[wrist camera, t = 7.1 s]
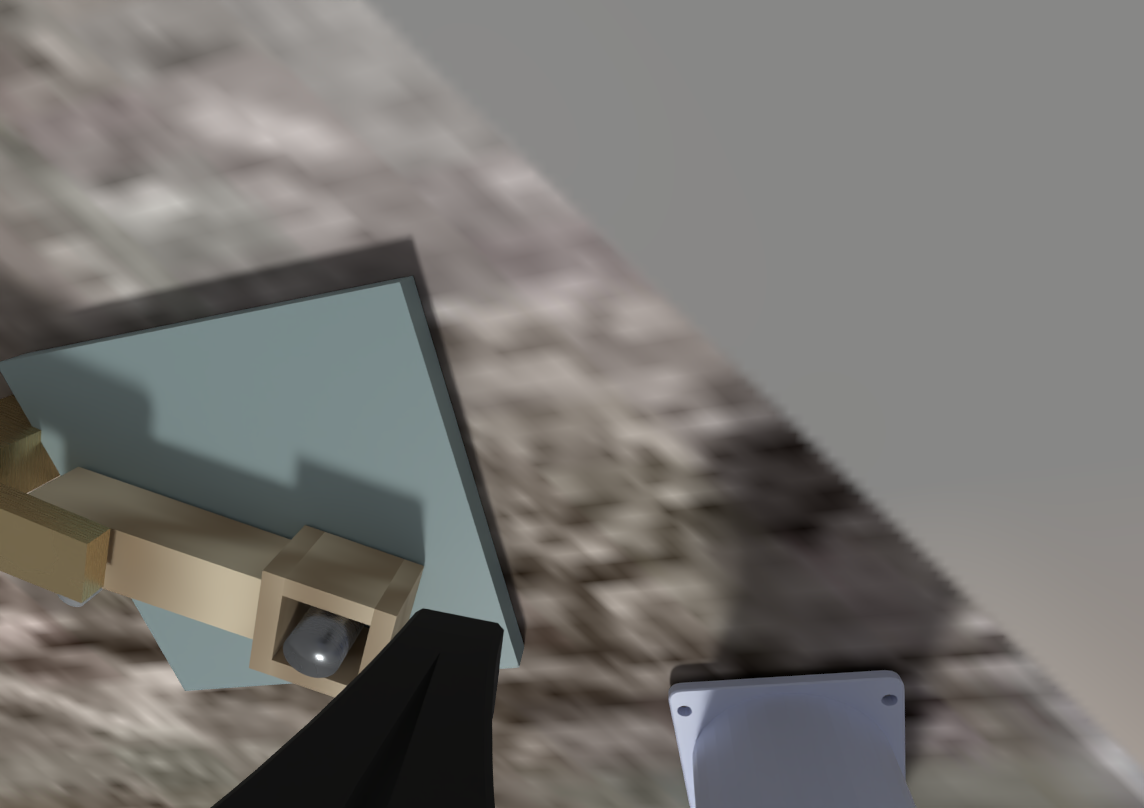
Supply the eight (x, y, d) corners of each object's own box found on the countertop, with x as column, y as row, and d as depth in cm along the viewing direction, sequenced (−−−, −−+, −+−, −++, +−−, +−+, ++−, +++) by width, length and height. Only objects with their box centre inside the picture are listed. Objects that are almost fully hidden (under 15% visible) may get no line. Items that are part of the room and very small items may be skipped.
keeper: (11, 450, 22) (-135, 517, 18) (13, 394, 21) (-141, 452, 17) (184, 522, 22) (79, 604, 18) (193, 470, 21) (85, 545, 17)
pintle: (397, 589, 22) (348, 675, 18) (353, 593, 22) (296, 679, 19) (382, 549, 21) (327, 630, 18) (337, 553, 22) (273, 634, 18)
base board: (524, 646, 22) (505, 723, 19) (202, 671, 25) (140, 742, 22) (412, 275, 17) (363, 300, 14) (25, 353, 20) (-86, 388, 17)
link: (424, 566, 20) (396, 616, 18) (399, 653, 22) (371, 709, 20) (77, 446, 20) (7, 482, 18) (79, 544, 22) (15, 588, 19)
